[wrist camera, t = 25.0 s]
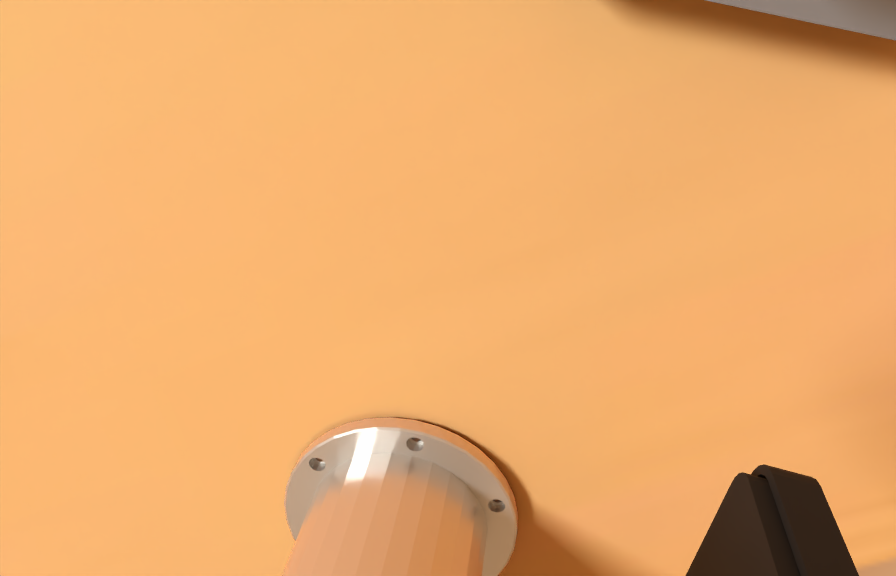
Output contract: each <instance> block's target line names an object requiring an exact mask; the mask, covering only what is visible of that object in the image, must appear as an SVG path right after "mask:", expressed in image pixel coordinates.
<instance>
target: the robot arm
mask: <svg viewBox="0 0 896 576" xmlns="http://www.w3.org/2000/svg"><path fill="white" fill-rule="evenodd" d="M284 505H285V513H286V520H287V523H288V525H289V528H290V531H291V533H292V536H293V538H294V539H295V544H294V547H293V549H292V552H291V554H290V557H289V559H288V562H287V564H286V567H285V569H284V572H283V574H282V576H498V575H499V574H500V573H501V572H502V570H503V569H504V568H505V566H506V565H507V564H508V562H509V560H510V557H511V555H512V553H513V551H514V548H515V542H516V536H517V522H518V511H517V507H516V502H515V497H514V494H513V492H512V490H511V488H510V486H509V484H508V482H507V479H506V478H505V476H504V475H503V474H502V472H501V471H500V470H499V468H498V467H497V466H496V464H495V463H494V462H493V461H492V460H491V459H490V458H489V457H487V456H486V455H485V454H484V453H483V452H482V451H481V450H480V449H479V448H478V447H476V446H474V445H473V444H471V443H470V442H468V441H467V440H465V439H464V438H462V437H460V436H459V435H457V434H454V433H452V432H450V431H448V430H445V429H443V428H441V427H438V426H435V425H432V424H428V423H424V422H421V421H417V420H411V419H402V418H393V417H387V418H368V419H363V420H359V421H354V422H349V423H346V424H344V425H341V426H339V427H336V428H334V429H332V430H329V431H328V432H326V433H325V434H323V435H322V436H320V437H319V438H317V439H316V440H314V441H313V442H312V443H311V444H310V445H309V446H308V447H307V449H306V450H305V451H304V452H303V453H302V454H301V456H300V457H299V459H298V461H297V463H296V465H295V467H294V468H293V471H292V473H291V476H290V478H289V481H288V484H287V486H286V493H285V502H284ZM686 576H859V575H858V572H857V570H856V568H855V565H854V563H853V561H852V558H851V556H850V554H849V551H848V549H847V547H846V544H845V542H844V540H843V537H842V535H841V533H840V530H839V528H838V526H837V523H836V521H835V519H834V516H833V514H832V512H831V509H830V507H829V505H828V502H827V500H826V498H825V495H824V493H823V491H822V488H821V486H820V485H819V483H818V481H817V480H816V479H814V478H812V477H809V476H805V475H802V474H798V473H794V472H790V471H786V470H783V469H779V468H775V467H771V466H768V465H760V466H758V467H757V468H756V469H755V470H754V471H753V472H752V474H751V475H750V474H746V473H739V474H738V475H737V476H736V477H735V478H734V480H733V482H732V483H731V485H730V487H729V489H728V491H727V493H726V495H725V497H724V499H723V501H722V503H721V505H720V508H719V510H718V512H717V514H716V516H715V518H714V520H713V522H712V524H711V526H710V528H709V530H708V532H707V534H706V536H705V538H704V540H703V542H702V544H701V546H700V548H699V550H698V552H697V554H696V556H695V558H694V560H693V562H692V564H691V566H690V568H689V570H688V572H687V574H686Z"/></svg>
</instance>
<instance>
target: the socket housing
mask: <svg viewBox="0 0 896 576" xmlns="http://www.w3.org/2000/svg"><path fill="white" fill-rule="evenodd" d="M706 1H711V2H716V3H720V4H725V5H730V6H735V7H739V8H744V9H749V10H754V11H758V12H763V13H768V14H773V15H777V16H782V17H787V18H792V19H796V20H801V21H806V22H811V23H815V24H820V25H825V26H830V27H834V28H839V29H844V30H849V31H853V32H858V33H863V34H868V35H872V36H877V37H882V38H887V39H891V40H896V0H706Z"/></svg>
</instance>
